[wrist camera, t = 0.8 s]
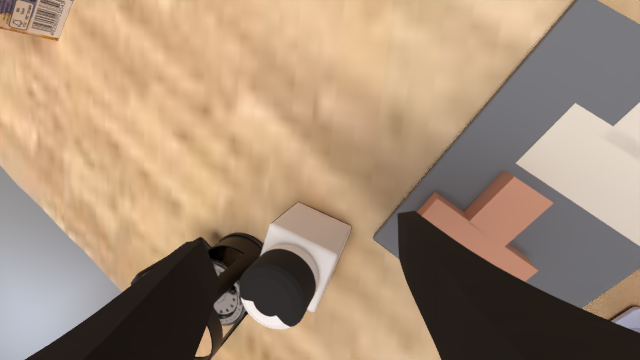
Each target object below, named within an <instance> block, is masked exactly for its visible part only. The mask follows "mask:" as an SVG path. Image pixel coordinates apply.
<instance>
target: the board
mask: <svg viewBox="0 0 640 360" xmlns="http://www.w3.org/2000/svg"><path fill="white" fill-rule="evenodd" d="M503 171H506V172H507V173H509V174H511V175H513V176H514V177H516V178H517V179H519V180H520V181H522V182H523V183H525V184H526V185H528V186H529V187H531V188H532V189H534V190H535V191H537V192H538V193H540V194H541V195H543V196H544V197H546V198H547V199H549V200H550V201H552V202H553V204H552V205H551V206H550V207H549V208H548V209H547V210H545V211H544V212H543V213H542V214H541V215H540V216H539V217H538V218H536V219H535V220H534V221H533V222H532V223H531V224H530V225H528V226H527V227H526V228H525V229H524V230H523V231H522V232H521V233H519V234H518V235H517V236H516V237H515V238H514V239H513V240H512V241H510V242H509V243H508V244H510V245H511V246H513V247H514V248H515V249H517V250H518V251H520V252H521V253H523V254H524V255H525V256H527V258H528V259H529V260H530V261H531V262H532V264H533V265H534V266H535V267H536V268H537V269H538V272H537V273H535V274H534V275H533V276H531V277H530V278H529V279H528V280H526V281H525V282H526V283H528V284H530V285H532V286H534V287H536V288H538V289H540V290H542V291H544V292H546V293H548V294H550V295H553V296H555V297H557V298H559V299H561V300H563V301H566V302H568V303H570V304H572V305H574V306H577V307H579V308H582V307H584V306H585V305H587V304H588V303H590V302H591V301H593V300H594V299H596V298H597V297H599V296H600V295H601V294H603V293H604V292H606V291H607V290H609V289H610V288H612V287H613V286H615V285H616V284H617V283H619V282H620V281H622V280H623V279H625V278H626V277H628V276H629V275H631V274H632V273H633V272H635V271H636V270H638V269H639V268H640V24H638V23H636V22H635V21H633V20H631V19H629V18H627V17H626V16H624V15H622V14H620V13H619V12H617V11H615V10H613V9H612V8H610V7H608V6H606V5H604V4H603V3H601V2H599V1H597V0H575V1H574V2H573V3H572V4H571V5H570V7H569V8H568V9H567V10H566V11H565V12H564V14H563V15H562V16H561V17H560V18H559V19H558V21H557V22H556V23H555V24H554V25H553V26H552V28H551V29H550V30H549V31H548V32H547V33H546V35H545V36H544V37H543V38H542V39H541V40H540V42H539V43H538V44H537V45H536V46H535V48H534V49H533V50H532V51H531V52H530V53H529V55H528V56H527V57H526V58H525V59H524V60H523V62H522V63H521V64H520V65H519V66H518V67H517V69H516V70H515V71H514V72H513V73H512V74H511V76H510V77H509V78H508V79H507V80H506V81H505V83H504V84H503V85H502V86H501V87H500V88H499V90H498V91H497V92H496V93H495V94H494V95H493V97H492V98H491V99H490V100H489V101H488V102H487V104H486V105H485V106H484V107H483V108H482V109H481V111H480V112H479V113H478V114H477V115H476V116H475V118H474V119H473V120H472V121H471V122H470V123H469V125H468V126H467V127H466V128H465V129H464V131H463V132H462V133H461V134H460V135H459V136H458V138H457V139H456V140H455V141H454V142H453V143H452V145H451V146H450V147H449V148H448V149H447V150H446V152H445V153H444V154H443V155H442V156H441V157H440V159H439V160H438V161H437V162H436V163H435V164H434V166H433V167H432V168H431V169H430V170H429V171H428V173H427V174H426V175H425V176H424V177H423V178H422V180H421V181H420V182H419V183H418V184H417V185H416V187H415V188H414V189H413V190H412V191H411V192H410V194H409V195H408V196H407V197H406V198H405V199H404V201H403V202H402V203H401V204H400V205H399V206H398V208H397V209H396V210H395V211H394V212H393V214H392V215H391V216H390V217H389V218H388V219H387V221H386V222H385V223H384V224H383V225H382V226H381V228H380V229H379V230H378V231H377V232H376V233H375V235H374V237H373V239H374V240H375V241H376V242H378V243H379V244H380V245H382V246H383V247H384V248H385V249H387V250H388V251H389V252H391V253H392V254H393V255H395V256H396V257H397V258H399V249H398V214H397V213H402V212H409V211H416V212H417V211H418V210H419V208H420V207H421V206H422V205H423V204H424V203H425V202H426V201H427V200H428V198H429V197H430V196H431V195H432V194H433V193H434V192H437V193H438V194H439V195H441V196H442V197H444V198H445V199H446V200H448V201H449V202H451V203H452V204H453V205H455V206H456V207H458V208H459V209H461V210H462V211H463V212H464V211H465V210H466V209H467V208H468V207H469V206H470V205H471V204H472V203H473V202H474V201H475V200H476V199H477V198H478V197H479V196H480V195H481V194H482V193H483V192H484V191H485V190H486V189H487V188H488V187H489V185H490V184H491V183H492V182H493V181H494V180H495V179H496V178H497V177H498V176H499V175H500V174H501V173H502V172H503Z"/></svg>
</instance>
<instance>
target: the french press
mask: <svg viewBox="0 0 640 360" xmlns="http://www.w3.org/2000/svg"><path fill="white" fill-rule="evenodd" d="M198 240H203V242H204V245H205V247H206V249H207V252H208V254H209V256H210V259H211V261H212V263H213V265H214V268H215V270H216V272H217V275H218V277H219V279H220V282H219V286H218V291H217V295H216V299H215V303H214V307H213V310H212V312H211V315H210V318H209V320H208V323H207V327H208V329H209V331H210V336H211V340H212V349H211V353H210V354H209V355H208V356H205V357H194V359H193V360H211V358H212V357H213V356H214V355H215V353H216V352H217V351H218V350H219V349H220V347H221V346H222V345H223V344H224V342H225V341H226V340H227V339H228V337H229V336H230V335H231V334H232V332H233V331H234V330H235V329H236V327H237V326H238V325H239V324H240V323H241V321H242V320H243V319H244V318H245V316H246V315H247V314H248V312H247V311H245V307H244V306H243V303H242V301H241V297H240V291H239V285H240V278H241V277H242V275H243V273H244V272H245V270H247V269H248V268H249V267H250V266H251V265H252V264H253V263H254V262H255V261H256V260H257V259H258V258H259V257H260V255H261V252H262V248H263V245H264V244H263V243H261V242H260V241H259V240H258V239H256V238H255V237H253V236H250V235H248V234H244V233H233V234H229V235H227V236H225V237H224V238H222V239H221V240H220V241H219V243H218V244H216V245H215V246H213V247H211V246H210V245H209V244H208V243H207V242H206V241H205V240H204V239H203V238H202V237H199V238H197V239H196V240H194V241H198ZM226 247H229V248H233V249H235V250H237V251H239V252H241V253H242V254H244V255H242V256H241V257H240V258H239V259H238V260H236V261H235V262H234V263H233V264H232V265H231V266H228V265H226V264H225V263H222V256H223V253H224V250H225V249H226ZM168 256H169V255H168ZM165 258H166V257H165ZM165 258H163V259H162V260H164V259H165ZM162 260H160V261H158V262H156V263H155V264H153V265H151V266H150V267H148V268H146V269H144V270H143V271H141V272H139V273H138V274H137V275H136V277H135V278H134V279H133V281H132V282H131V285H133V284H134V283H135V282H136V281H138V280H139V279H140V278H141V277H143V276H144V275H145V274H146V273H147V272H149V271H150V270H151V269H152V268H154V267H155V266H156V265H157V264H159V263H160V262H161V261H162ZM244 311H245V312H244ZM234 323H235V324H234ZM232 324H234V326H233V327H232V328H231V329H230V330H229V332H228V333H227V334H226V335H225V336H224V338H223V333H222V326H226V325H232ZM221 325H222V326H221ZM222 338H223V339H222Z"/></svg>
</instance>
